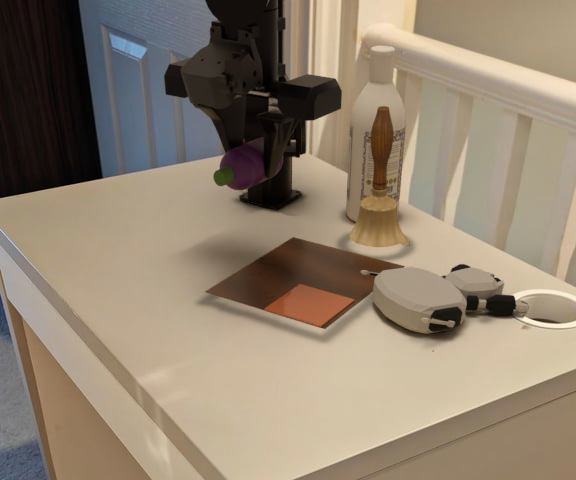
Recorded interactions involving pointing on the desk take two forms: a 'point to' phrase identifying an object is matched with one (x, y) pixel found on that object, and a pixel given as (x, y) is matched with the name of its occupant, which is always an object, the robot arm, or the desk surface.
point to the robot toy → (439, 297)
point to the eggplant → (243, 166)
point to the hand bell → (379, 193)
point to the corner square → (310, 305)
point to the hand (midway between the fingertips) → (252, 174)
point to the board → (302, 275)
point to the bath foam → (362, 119)
